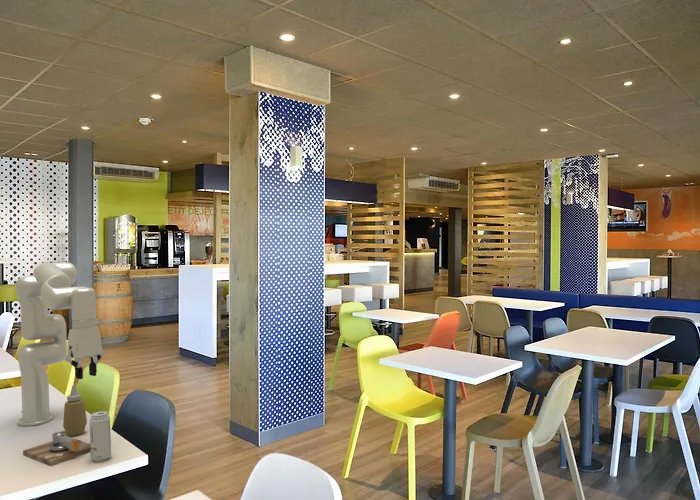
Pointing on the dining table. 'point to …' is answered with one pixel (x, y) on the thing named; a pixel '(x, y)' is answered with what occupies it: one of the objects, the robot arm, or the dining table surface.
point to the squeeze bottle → (74, 414)
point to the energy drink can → (100, 436)
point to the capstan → (63, 442)
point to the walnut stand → (55, 453)
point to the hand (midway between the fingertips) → (86, 376)
